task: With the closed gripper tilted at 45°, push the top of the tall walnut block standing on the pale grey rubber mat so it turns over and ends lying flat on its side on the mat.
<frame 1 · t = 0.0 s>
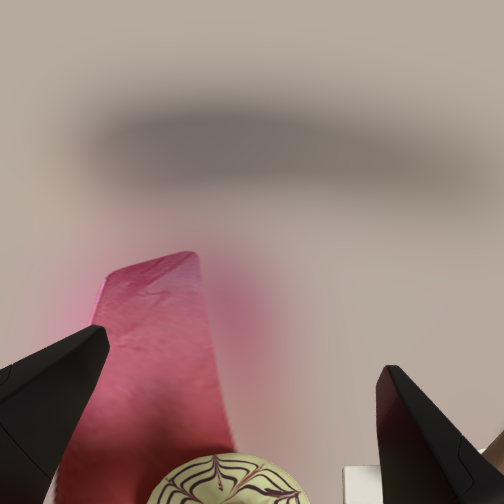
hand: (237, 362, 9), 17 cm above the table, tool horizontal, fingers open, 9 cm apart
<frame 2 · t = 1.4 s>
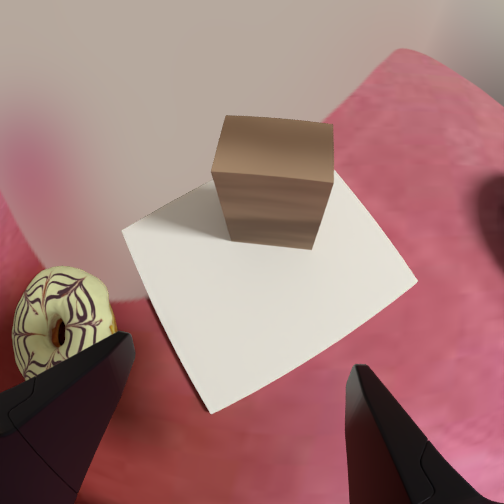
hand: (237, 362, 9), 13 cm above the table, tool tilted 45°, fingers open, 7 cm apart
rubber mat: (265, 258, 23), on the table
decorated donut: (75, 336, 22), on the table
walnut block: (274, 221, 24), point 1 cm above the table, touching rubber mat
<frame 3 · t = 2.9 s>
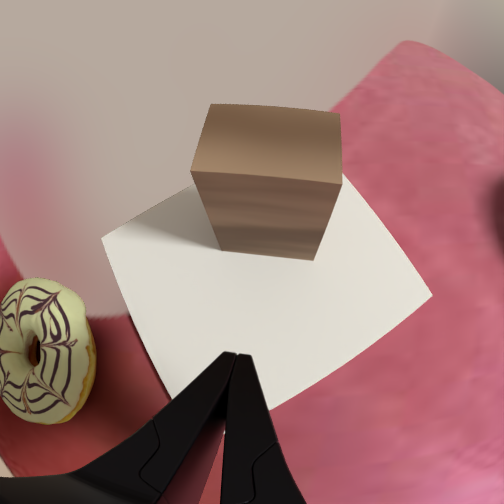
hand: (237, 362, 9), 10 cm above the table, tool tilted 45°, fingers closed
rubber mat: (260, 270, 20), on the table
decorated donut: (54, 353, 19), on the table
walnut block: (270, 227, 21), point 1 cm above the table, touching rubber mat
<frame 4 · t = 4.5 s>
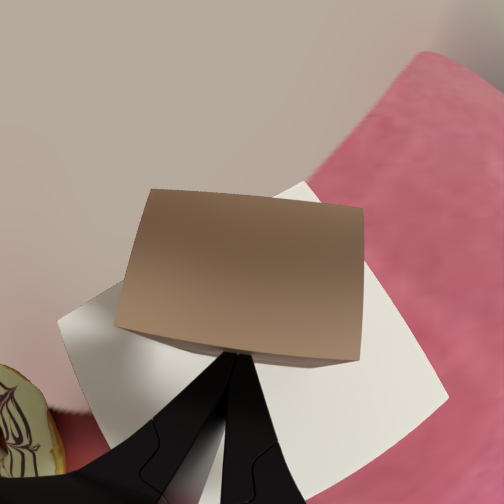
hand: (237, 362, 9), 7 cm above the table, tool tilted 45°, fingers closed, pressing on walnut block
rubber mat: (242, 376, 16), on the table
decorated donut: (24, 436, 14), on the table
walnut block: (255, 324, 16), point 1 cm above the table, touching gripper, rubber mat
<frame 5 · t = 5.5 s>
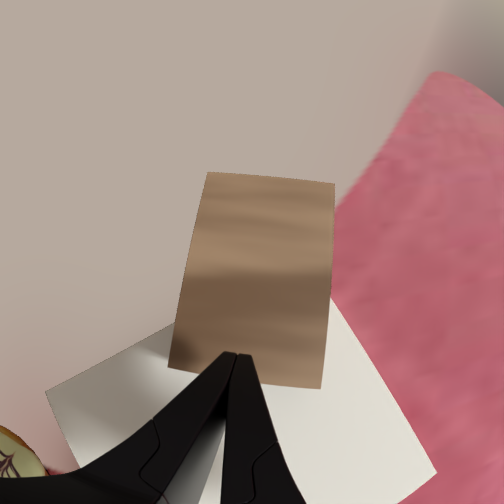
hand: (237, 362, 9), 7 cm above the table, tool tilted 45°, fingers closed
rubber mat: (231, 458, 14), on the table
decorated donut: (25, 487, 13), on the table
walnut block: (246, 378, 13), point 3 cm above the table, tilted 90°, touching rubber mat
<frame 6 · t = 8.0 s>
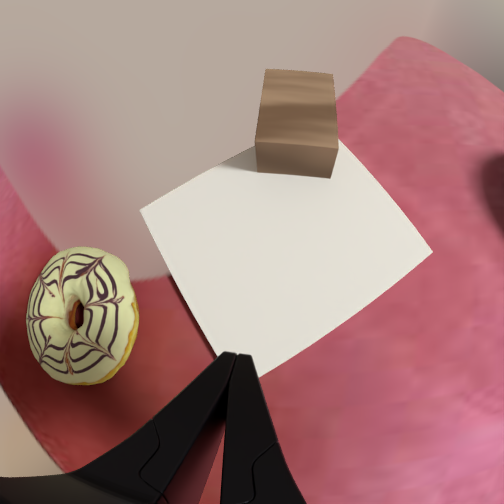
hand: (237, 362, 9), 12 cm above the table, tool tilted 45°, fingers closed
rubber mat: (285, 231, 24), on the table
decorated donut: (92, 319, 23), on the table
walnut block: (295, 160, 23), point 3 cm above the table, tilted 90°, touching rubber mat
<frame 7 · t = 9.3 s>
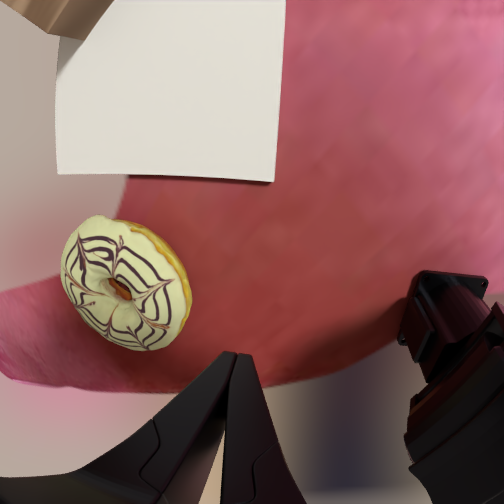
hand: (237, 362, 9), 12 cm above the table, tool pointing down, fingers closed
rubber mat: (155, 40, 15), on the table
decorated donut: (134, 272, 23), on the table
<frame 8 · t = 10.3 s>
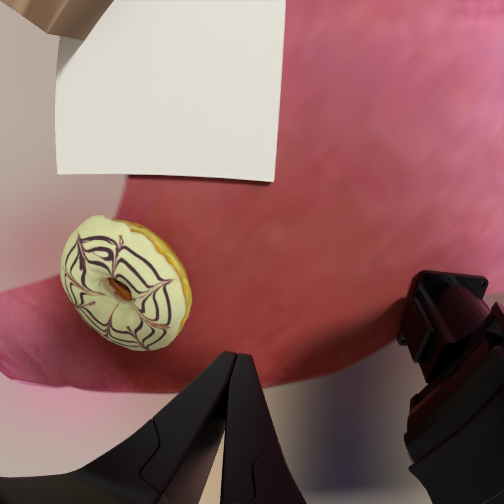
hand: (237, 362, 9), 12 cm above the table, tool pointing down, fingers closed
rubber mat: (155, 40, 15), on the table
decorated donut: (134, 272, 23), on the table
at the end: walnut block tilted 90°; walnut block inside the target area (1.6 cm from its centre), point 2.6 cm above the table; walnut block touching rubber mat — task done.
